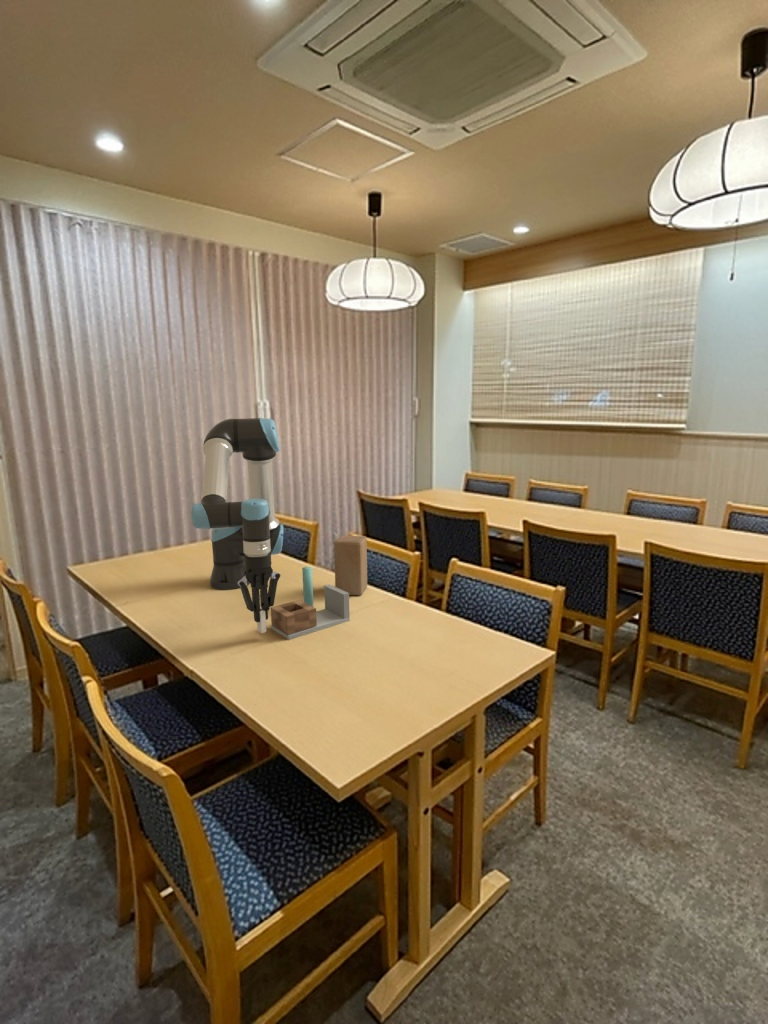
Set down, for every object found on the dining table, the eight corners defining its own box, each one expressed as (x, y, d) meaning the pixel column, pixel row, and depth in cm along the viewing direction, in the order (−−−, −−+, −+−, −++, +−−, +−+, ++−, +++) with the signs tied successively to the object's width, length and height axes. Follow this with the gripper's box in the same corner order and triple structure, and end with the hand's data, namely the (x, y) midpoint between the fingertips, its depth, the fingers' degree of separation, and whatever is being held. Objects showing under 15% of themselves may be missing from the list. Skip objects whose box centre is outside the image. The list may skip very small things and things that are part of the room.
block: (361, 596, 196) (360, 542, 192) (334, 594, 198) (333, 541, 194) (368, 587, 205) (367, 535, 201) (342, 585, 207) (340, 534, 203)
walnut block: (271, 624, 168) (270, 607, 167) (299, 616, 174) (298, 599, 173) (287, 634, 161) (287, 616, 160) (316, 625, 167) (316, 608, 166)
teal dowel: (302, 607, 186) (300, 568, 183) (310, 605, 188) (308, 566, 185) (307, 610, 183) (305, 570, 180) (315, 608, 185) (313, 568, 182)
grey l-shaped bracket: (270, 628, 169) (269, 600, 167) (330, 610, 183) (329, 584, 181) (288, 639, 161) (287, 610, 159) (349, 620, 174) (348, 593, 173)
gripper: (241, 560, 149) (247, 641, 154) (284, 552, 157) (287, 629, 162) (230, 555, 155) (235, 633, 160) (271, 547, 163) (275, 621, 168)
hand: (261, 631), depth 161 cm, fingers closed
